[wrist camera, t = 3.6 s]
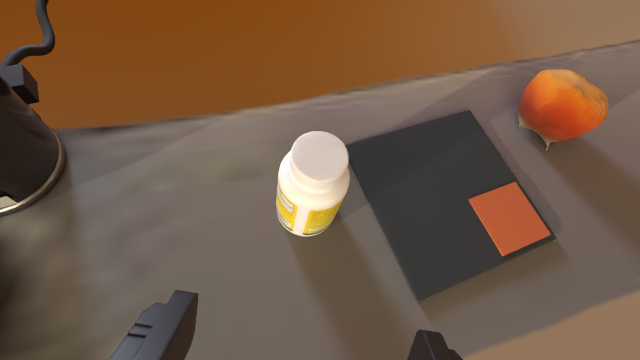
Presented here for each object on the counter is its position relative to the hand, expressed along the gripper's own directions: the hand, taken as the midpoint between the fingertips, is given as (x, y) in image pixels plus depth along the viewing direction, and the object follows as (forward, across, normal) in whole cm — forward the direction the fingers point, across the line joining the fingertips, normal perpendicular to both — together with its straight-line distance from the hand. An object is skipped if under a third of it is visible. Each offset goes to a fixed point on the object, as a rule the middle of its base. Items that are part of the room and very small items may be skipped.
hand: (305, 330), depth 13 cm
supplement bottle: (+20, 0, +4) cm, 20 cm away
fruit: (+31, -25, -8) cm, 41 cm away
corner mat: (+23, -14, 0) cm, 27 cm away
